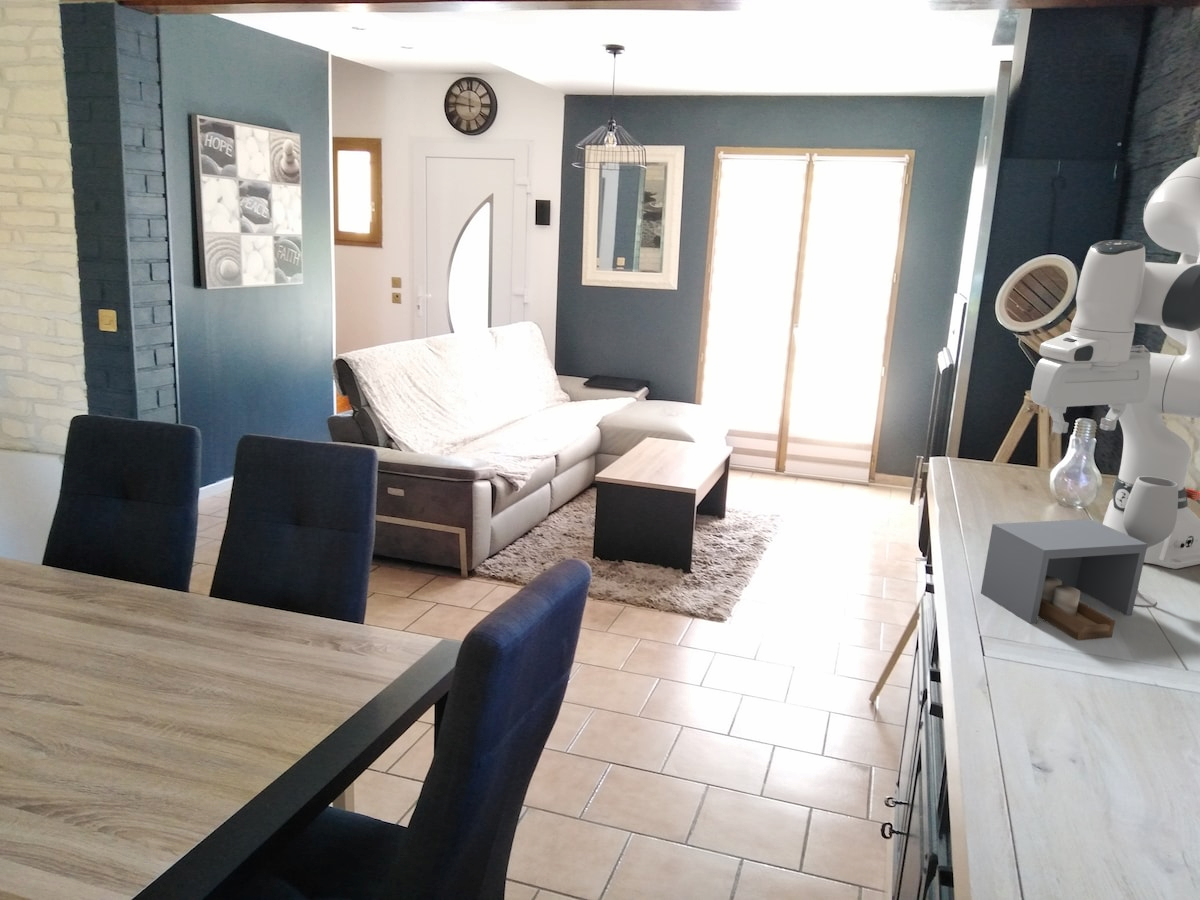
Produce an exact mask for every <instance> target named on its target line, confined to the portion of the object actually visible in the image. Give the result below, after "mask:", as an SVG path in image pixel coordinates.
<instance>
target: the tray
mask: <svg viewBox="0 0 1200 900" xmlns="http://www.w3.org/2000/svg"><path fill="white" fill-rule="evenodd" d="M1081 593H1082V592H1081V591H1079V590H1078V589H1076V588H1074V587H1070V586H1065V585H1062V581H1061V580H1059V579H1057V578H1055V577H1051V576H1046V577H1045V582H1044V587H1043V593H1042V598H1041V603H1040V608H1039V613H1038V619H1039V618H1040V619H1041V620H1043V622H1046V623H1047V624H1050V626H1053V627H1054V628H1056V629H1058V630H1059V631H1061V632H1062V633H1064V634H1066V635H1067V636H1069V637H1071V638H1072V639H1074V640H1075V641H1085V640H1086V641H1087V640H1098V639H1099V640H1100V639H1108V638H1112V637H1113V633H1114V628H1115V623H1116V620H1114V619H1113V618H1111V617H1110V616H1107V615H1105V614H1104V613H1102V612H1100V611H1098V610H1096V609H1095V608H1093V607H1092V606H1090V605H1087V603H1084V602H1082V601H1081V600H1080V597H1081Z"/></svg>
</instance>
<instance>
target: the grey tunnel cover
mask: <svg viewBox="0 0 1200 900" xmlns="http://www.w3.org/2000/svg"><path fill="white" fill-rule="evenodd" d="M1147 545H1148V544H1147V543H1144V542H1142V541H1140V540H1138V539H1135V538H1133V537H1131V536H1128V535H1126V534H1124V533H1121V532H1119V531H1117V530H1115V529H1112V528H1110V527H1108V526H1105V525H1103V523H1100V522H1098V521H1097V520H1094V519H1091V518H1085V519H1083V518H1082V519H1066V520H1064V519H1063V520H1062V519H1061V520H1048V521H1047V520H1046V521H1045V520H1043V521H1027V522H1026V521H1025V522H1008V523H1007V522H1005V523H1004V522H1002V523H992V525H991V531H990V537H989V544H988V549H987V555H986V561H985V567H984V573H983V578H982V585H981V588H980V589H981V590H980V594H982V595H983V596H984V597H986V598H988V599H989V600H990V601H991V600H992V601H993V602H995V603H996V604H997V605H1000V606H1001V607H1002V608H1005V609H1006V610H1007V611H1009V612H1010V613H1012V614H1014V615H1015V616H1017V617H1018V618H1020V619H1022V620H1023V621H1025V622H1027V624H1030V625H1034V624H1037V622H1038V619H1039V617H1038V613H1039V608H1040V603H1041V598H1042V593H1043V587H1044V582H1045V577H1046V576H1051V577H1055V578H1057V579H1059V580H1061V581H1062V585H1065V586H1070V587H1074V588H1076V589H1078V590H1079V591H1080V592H1081V593H1083V594H1085V595H1086V596H1089V597H1091V598H1092V599H1094V600H1096V601H1098V602H1100V603H1102V604H1104V605H1106V606H1107V607H1109V608H1111V609H1113V610H1115V611H1117V612H1119V613H1120V614H1122V615H1125V616H1133V612H1134V608H1135V605H1134V604H1135V599H1136V595H1137V590H1138V591H1139V585H1140V580H1141V576H1142V571H1143V566H1144V563H1145V562H1144V558H1145V554H1146V549H1147Z"/></svg>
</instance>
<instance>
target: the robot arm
mask: <svg viewBox="0 0 1200 900" xmlns="http://www.w3.org/2000/svg"><path fill="white" fill-rule="evenodd" d="M1142 218H1143V219H1142V220H1143V227H1144V230H1145V232H1146V233H1147V235H1148V236H1149V238H1150V239H1151V240H1152V241H1153V242H1154V243H1155V244H1157V245H1158V246H1159V247H1161V248H1162V249H1165V250H1168V251H1171V252H1177V253H1180V254H1181V255H1180V257H1179V259H1178V261H1177V263H1165V262H1164V263H1163V262H1151V261H1149V262H1148V261H1146V246H1145V244H1143V243H1141V242H1137V241H1136V240H1129V239H1112V240H1111V239H1110V240H1103V241H1098V242H1096V243H1094V244H1092V245H1091V246H1090V247H1089V249H1088V251H1087V254H1086V256H1085V259H1084V262H1083V265H1082V269H1081V271H1080V276H1079V280H1078V283H1077V288H1076V295H1075V302H1076V303H1075V304H1076V311H1075V313H1074V314H1075V315H1074V317H1073V319H1072V321H1071V323H1070V324H1071V325H1070V330H1069V331H1067V332H1064V333H1063V334H1061V335H1058V336H1055V337H1053V338H1050V339H1047V340H1046V341H1043V342H1042V343H1040V345H1039V352H1038V353H1039V355H1041V356H1042V358H1041V359H1039V360H1038V362H1037V363H1036V365H1035V368H1034V372H1033V377H1032V380H1031V381H1032V382H1031V387H1030V388H1031V389H1030V394H1029V395H1030V398H1031V401H1032V402H1033V404H1034V405H1038V406H1040V407H1044V408H1048V412H1049V415H1050V417H1051V419H1052V427H1051V431H1052V432H1053V433H1056V434H1067V433H1068V430H1069V425H1070V423H1069V422H1067V421H1065V418H1064V414H1066V412H1067V408H1069V407H1070V408H1071V407H1085V406H1087V407H1089V406H1104V405H1105V406H1106V405H1107V406H1108V408H1109V410H1108V412H1107V414H1106V415H1105V417H1100V424H1099V429H1101V430H1103V431H1115V429H1116V427H1117V421H1119V423H1120V427H1121V430H1122V435H1123V445H1122V446H1123V447H1122V454H1121V461H1120V467H1119V472H1118V475H1117V476H1116V477H1115V480H1114V482H1113V485H1112V486H1113V487H1112V499H1111V500H1110V501H1109V503H1108V507H1107V509H1106V512H1105V514H1104V517H1103V521H1102V524H1103V525H1105V526H1108V527H1110V528H1112V529H1115V530H1117V531H1119V532H1121V533H1124V534H1126V535H1128V533H1127V532H1126V530H1125V528H1124V525H1123V515H1124V510H1125V507H1126V503H1127V501H1128V498H1129V495H1130V493H1131V490H1132V488H1133V486H1134V483H1135V481H1136V479H1137V478H1138V477H1141V476H1149V477H1157V478H1163V479H1167V480H1170V481H1173V482H1175V483H1177V484H1178V509H1177V519H1176V524H1175V527H1174V530H1173V532H1172V533H1171V534H1170V536H1169V537H1168V538H1166V539H1165V540H1163V541H1162V542H1160V543H1158V544H1156V545H1154V546H1151V547H1149V548H1147V550H1146V554H1145V558H1144V563H1145V564H1152V565H1157V566H1161V567H1165V568H1169V569H1174V570H1175V569H1176V570H1177V569H1183V568H1186V567H1193V566H1196V565H1200V518H1199V516H1197V514H1195V513H1194V512H1193V511H1192V509H1190V507H1188V505H1189V502H1188V499H1190V500H1192V501H1195V502H1196V501H1198V500H1199V499H1200V490H1198V489H1193V488H1192V487H1189V488H1185V484H1186V480H1187V476H1188V472H1189V467H1190V463H1191V458H1192V451H1191V448H1190V445H1189V444H1188V443H1187V441H1186V440H1185V439H1184V438H1183V437H1181V436H1180V435H1178V434H1177V433H1176V432H1174V431H1172V429H1170V428H1169V427H1168V426H1167V425H1166V424H1165V422H1164V420H1163V419H1164V418H1163V414H1168V415H1174V416H1181V417H1186V418H1193V419H1199V420H1200V156H1196V157H1194V158H1191V159H1188V160H1186V161H1185V162H1184V163H1183V164H1181V165H1180V166H1179V167H1177V168H1176V169H1175V170H1174V171H1172V172H1171V173H1170V174H1169V175H1168V176H1167V177H1166V178H1165V179H1164V180H1163V181H1162V182H1161V183H1159V184H1158V185H1157V186H1156V187H1154V188H1153V189H1152V190H1151V191H1150V192H1149V194H1148V196H1147V199H1146V203H1145V204H1144V208H1143V217H1142ZM1136 324H1143V325H1153V326H1159V327H1160V328H1161V330H1162V331H1163V332H1164V334H1166V336H1168V337H1169V338H1171V339H1172V340H1174V341H1176V342H1177V343H1179V344H1181V345H1182V346H1184V348H1186V350H1185V352H1184V354H1183V355H1182V354H1181V355H1180V354H1179V355H1174V354H1166V353H1161V352H1160V353H1158V352H1150V350H1149V349H1148V348H1147V347H1146V346H1145V345H1142V344H1137V345H1133V341H1134V335H1135V330H1136ZM1128 536H1129V535H1128Z"/></svg>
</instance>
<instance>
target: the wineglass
mask: <svg viewBox="0 0 1200 900" xmlns="http://www.w3.org/2000/svg"><path fill="white" fill-rule="evenodd" d="M1177 509H1178V484H1177V483H1175V482H1173V481H1170V480H1167V479H1163V478H1157V477H1149V476H1141V477H1138V478H1137V479H1136V481H1135V483H1134V486H1133V488H1132V490H1131V493H1130V495H1129V498H1128V501H1127V503H1126V507H1125V510H1124V515H1123V525H1124V528H1125V530H1126V532H1127V533H1128V535H1129V536H1131V537H1133V538H1135V539H1138V540H1140V541H1142V542H1144V543H1147V544H1148V545H1147V548H1149V547H1151V546H1154V545H1156V544H1158V543H1160V542H1162V541H1163V540H1165V539H1166V538H1168V537H1169V536H1170V534H1171V533H1172V532H1173V530H1174V527H1175V524H1176V519H1177ZM1146 550H1147V549H1146ZM1156 603H1157V600H1156V599H1155V598H1154V597H1153V596H1152V595H1150V594H1147V593H1145V592H1142V591H1139V589H1138V590H1137V595H1136V599H1135V604H1134V607H1136V606H1137V607H1142V608H1143V607H1147V608H1148V607H1153V606H1155V605H1156Z"/></svg>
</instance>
